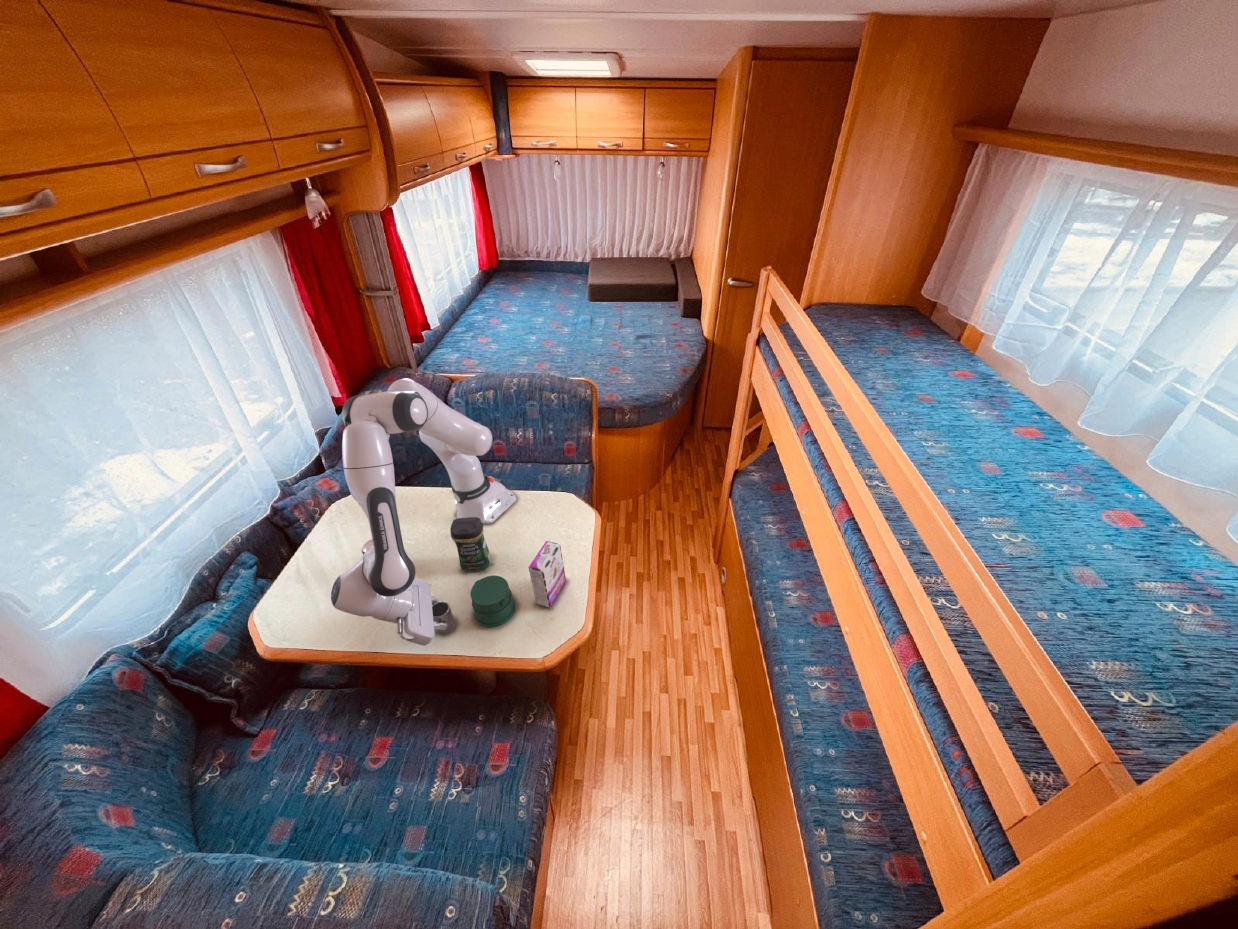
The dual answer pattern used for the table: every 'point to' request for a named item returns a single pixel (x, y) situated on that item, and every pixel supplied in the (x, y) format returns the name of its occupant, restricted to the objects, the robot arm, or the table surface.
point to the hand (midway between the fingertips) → (444, 616)
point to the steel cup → (443, 616)
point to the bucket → (492, 601)
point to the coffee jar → (470, 544)
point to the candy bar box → (547, 574)
